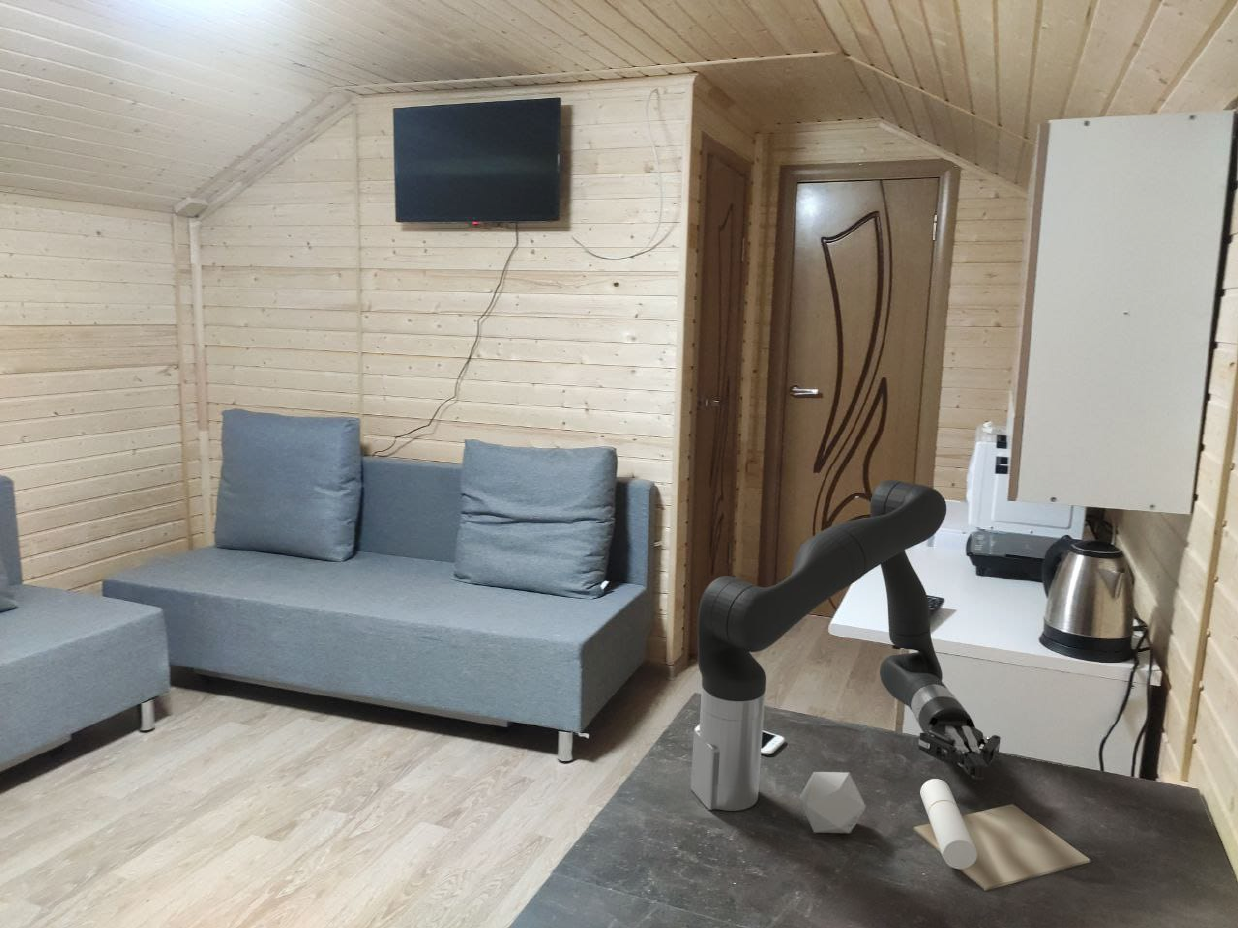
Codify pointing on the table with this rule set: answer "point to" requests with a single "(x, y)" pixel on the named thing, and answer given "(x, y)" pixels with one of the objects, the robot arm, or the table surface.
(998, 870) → the birch board
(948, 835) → the tube
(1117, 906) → the table surface
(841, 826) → the die
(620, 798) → the table surface
